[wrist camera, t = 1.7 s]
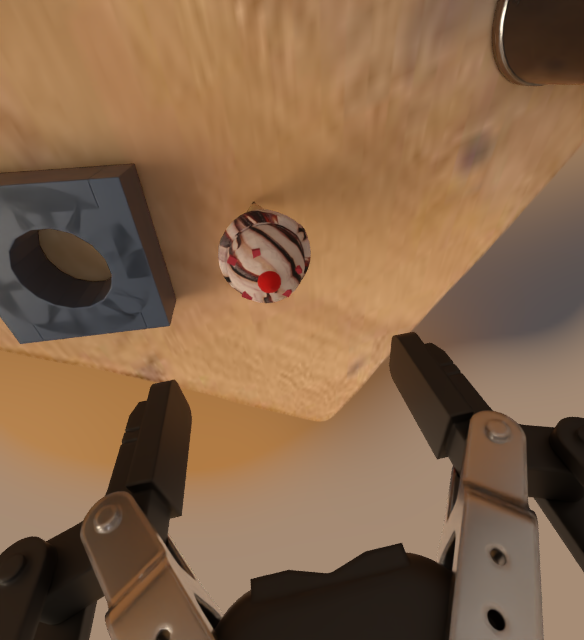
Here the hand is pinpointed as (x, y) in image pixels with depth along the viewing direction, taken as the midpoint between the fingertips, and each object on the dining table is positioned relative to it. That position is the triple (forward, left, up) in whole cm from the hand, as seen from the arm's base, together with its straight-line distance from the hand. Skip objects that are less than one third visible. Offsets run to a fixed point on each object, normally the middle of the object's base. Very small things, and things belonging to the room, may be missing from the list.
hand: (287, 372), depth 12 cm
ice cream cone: (0, 0, -21) cm, 21 cm away
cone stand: (+13, +9, -21) cm, 26 cm away
